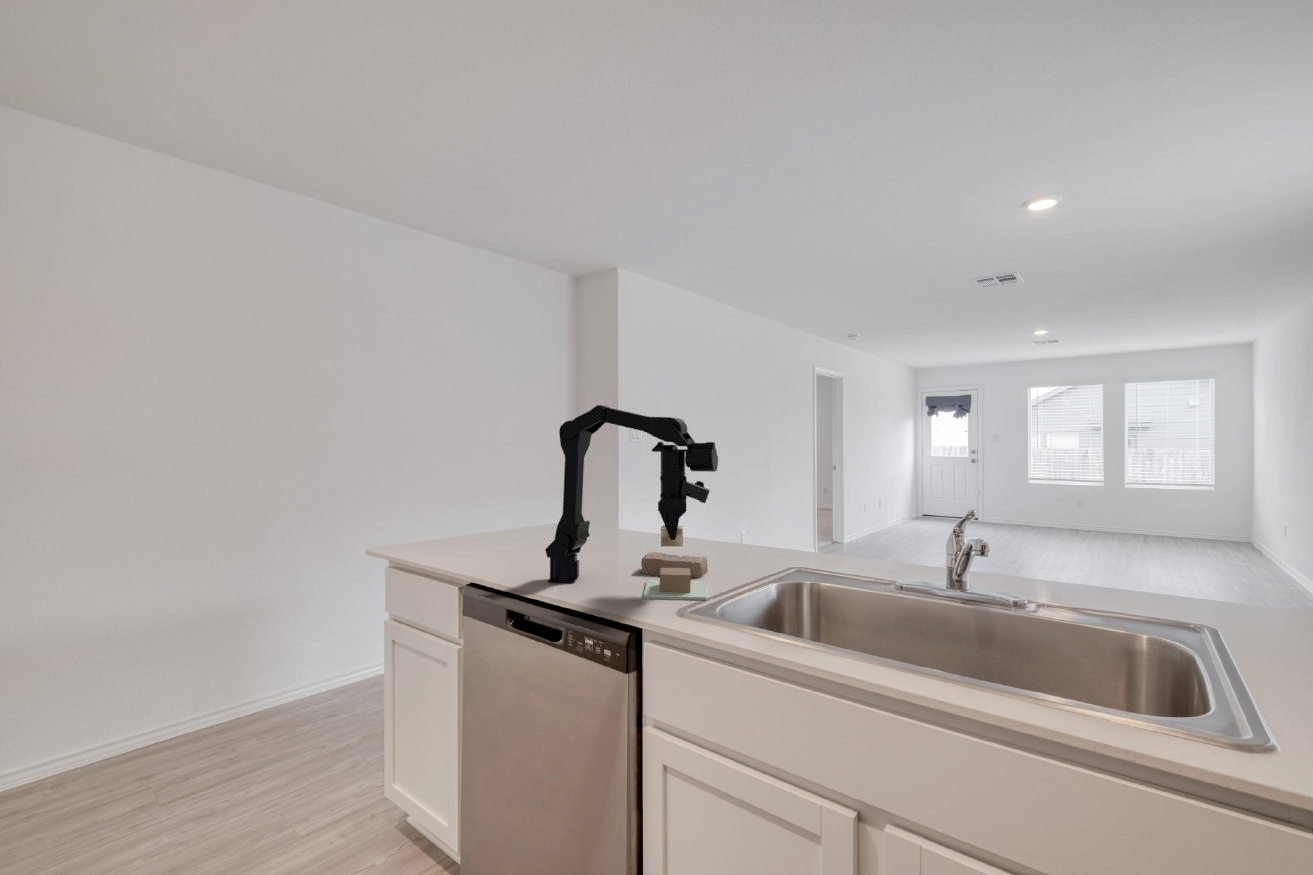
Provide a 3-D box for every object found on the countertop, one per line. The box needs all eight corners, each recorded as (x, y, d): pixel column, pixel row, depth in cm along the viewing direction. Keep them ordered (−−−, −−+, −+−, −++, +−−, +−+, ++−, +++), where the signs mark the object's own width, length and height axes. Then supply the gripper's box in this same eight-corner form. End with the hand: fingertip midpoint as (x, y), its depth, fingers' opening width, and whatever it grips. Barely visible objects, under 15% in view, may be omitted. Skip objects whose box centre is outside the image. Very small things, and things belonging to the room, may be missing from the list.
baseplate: (643, 598, 129) (643, 577, 129) (647, 582, 143) (647, 564, 143) (706, 600, 128) (706, 579, 128) (703, 583, 142) (704, 565, 142)
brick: (708, 572, 156) (708, 554, 156) (701, 579, 148) (701, 560, 148) (649, 568, 161) (649, 551, 161) (640, 574, 153) (640, 556, 153)
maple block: (661, 546, 133) (660, 528, 133) (661, 542, 138) (661, 525, 138) (682, 546, 133) (682, 528, 133) (682, 542, 138) (682, 525, 138)
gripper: (709, 473, 126) (709, 545, 126) (705, 469, 144) (706, 531, 144) (657, 473, 126) (658, 545, 126) (661, 469, 145) (661, 531, 145)
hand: (673, 537), depth 135 cm, fingers closed on maple block, 5 cm apart
